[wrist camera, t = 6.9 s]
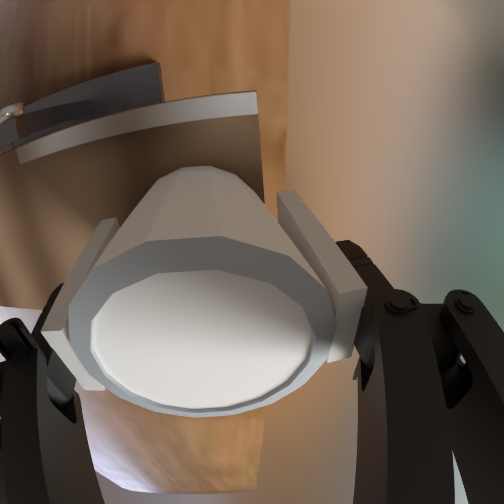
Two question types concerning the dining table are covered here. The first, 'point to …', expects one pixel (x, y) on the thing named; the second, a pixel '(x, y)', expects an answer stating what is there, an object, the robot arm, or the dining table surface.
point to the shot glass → (201, 302)
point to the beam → (109, 180)
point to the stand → (81, 104)
